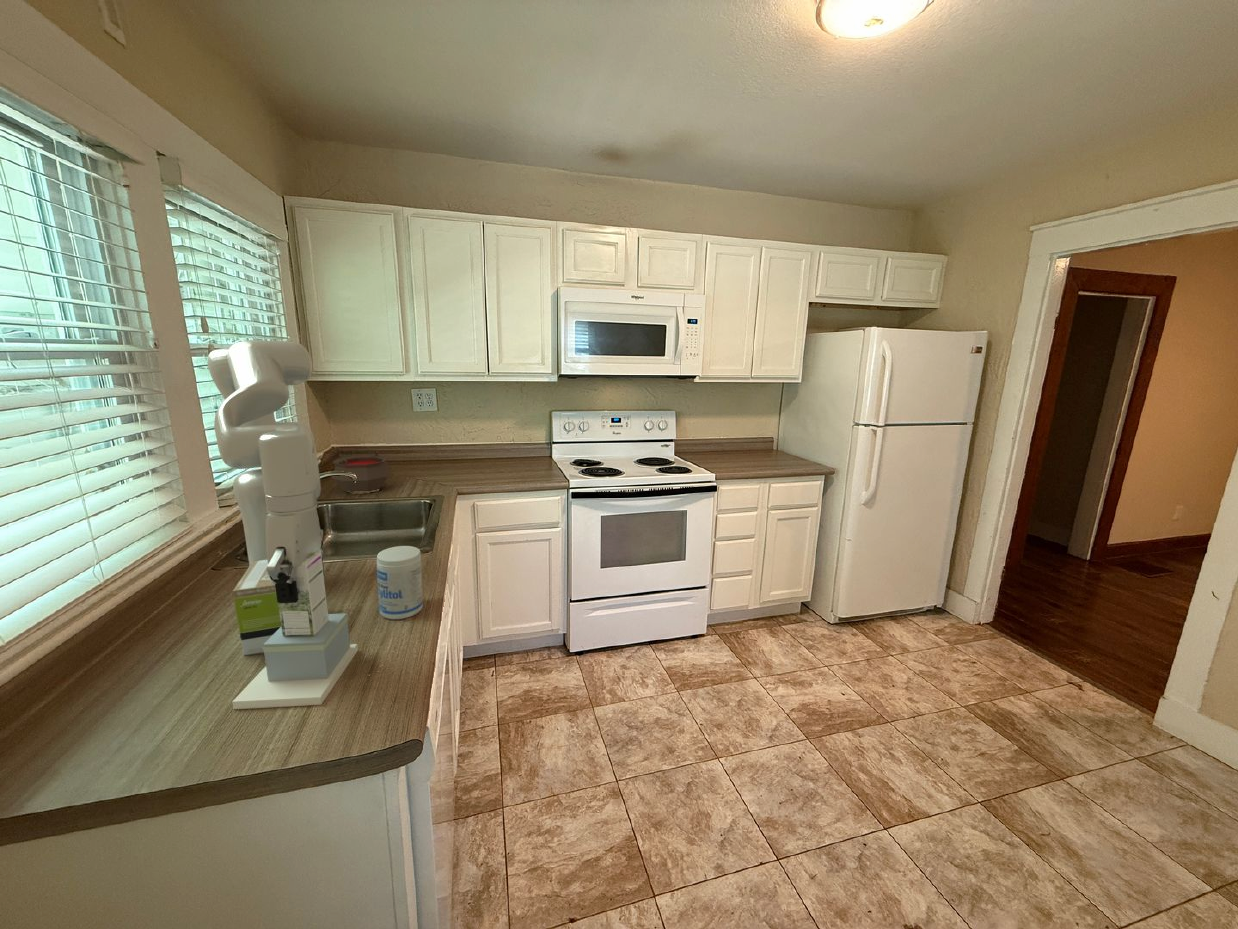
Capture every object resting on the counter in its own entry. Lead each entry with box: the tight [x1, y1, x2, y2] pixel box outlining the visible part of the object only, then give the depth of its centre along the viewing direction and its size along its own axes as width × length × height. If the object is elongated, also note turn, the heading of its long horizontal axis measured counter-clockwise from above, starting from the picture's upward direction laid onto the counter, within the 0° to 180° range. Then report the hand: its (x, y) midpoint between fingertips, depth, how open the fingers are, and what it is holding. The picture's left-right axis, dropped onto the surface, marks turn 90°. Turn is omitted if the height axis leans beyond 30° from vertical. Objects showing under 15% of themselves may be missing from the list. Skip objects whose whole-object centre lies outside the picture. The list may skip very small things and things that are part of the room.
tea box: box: [232, 560, 281, 656], centre depth 104 cm, size 15×10×15 cm
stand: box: [231, 613, 359, 710], centre depth 91 cm, size 16×14×9 cm
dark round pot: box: [330, 449, 393, 492], centre depth 212 cm, size 24×24×16 cm
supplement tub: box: [376, 545, 424, 620], centre depth 115 cm, size 10×10×15 cm
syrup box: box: [278, 552, 329, 636], centre depth 90 cm, size 6×6×14 cm
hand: (302, 588), depth 90 cm, fingers open, 9 cm apart
